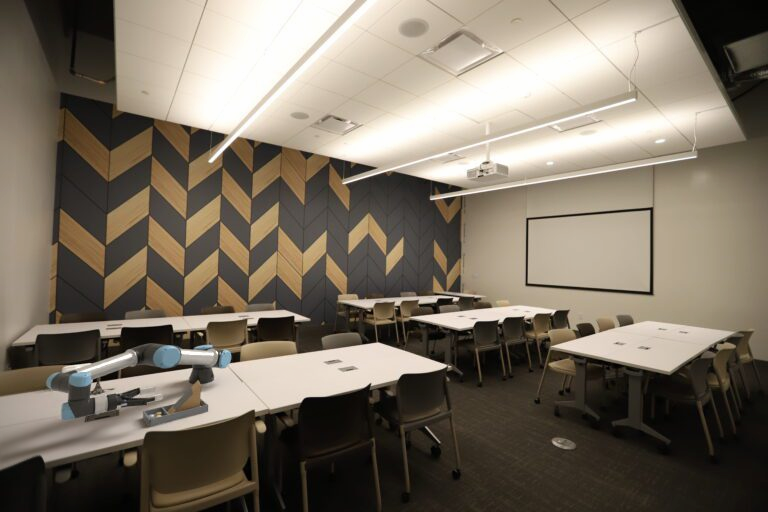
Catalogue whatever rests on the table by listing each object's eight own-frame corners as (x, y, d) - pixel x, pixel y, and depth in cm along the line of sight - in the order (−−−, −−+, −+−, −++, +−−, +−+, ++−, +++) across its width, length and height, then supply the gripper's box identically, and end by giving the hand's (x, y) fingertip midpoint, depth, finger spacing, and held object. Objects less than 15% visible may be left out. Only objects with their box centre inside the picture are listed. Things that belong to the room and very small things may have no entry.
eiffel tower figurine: (115, 389, 219) (116, 367, 220) (111, 394, 210) (112, 372, 211) (84, 392, 212) (85, 370, 213) (79, 398, 203) (80, 375, 204)
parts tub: (199, 404, 200) (199, 397, 200) (208, 411, 191) (208, 404, 191) (142, 418, 181) (143, 411, 181) (149, 426, 172) (149, 419, 172)
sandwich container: (164, 413, 187) (165, 384, 188) (197, 407, 197) (198, 379, 197) (166, 419, 181) (167, 389, 181) (199, 412, 190) (201, 384, 190)
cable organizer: (60, 389, 214) (61, 370, 214) (61, 384, 222) (62, 366, 222) (92, 384, 224) (93, 366, 224) (92, 380, 232) (93, 362, 232)
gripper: (101, 403, 174) (151, 393, 189) (110, 420, 156) (165, 407, 172) (102, 388, 174) (152, 379, 189) (111, 403, 157) (165, 392, 172)
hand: (158, 392), depth 181 cm, fingers open, 13 cm apart
